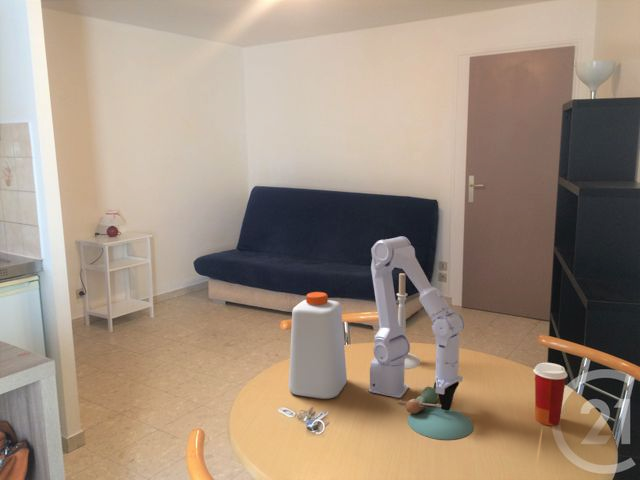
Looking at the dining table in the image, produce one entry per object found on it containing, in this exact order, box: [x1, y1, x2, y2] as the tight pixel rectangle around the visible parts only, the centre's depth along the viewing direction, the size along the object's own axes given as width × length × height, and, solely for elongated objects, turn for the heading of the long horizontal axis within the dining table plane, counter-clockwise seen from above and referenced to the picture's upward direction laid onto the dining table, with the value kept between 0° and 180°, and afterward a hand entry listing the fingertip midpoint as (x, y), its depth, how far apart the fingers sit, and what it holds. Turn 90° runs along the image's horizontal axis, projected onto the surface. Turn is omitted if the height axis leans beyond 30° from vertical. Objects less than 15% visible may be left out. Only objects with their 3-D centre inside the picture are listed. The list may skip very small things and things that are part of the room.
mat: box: [407, 406, 474, 441], centre depth 132 cm, size 16×16×1 cm
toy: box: [397, 385, 442, 414], centre depth 140 cm, size 13×4×15 cm
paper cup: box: [532, 362, 568, 427], centre depth 132 cm, size 8×8×14 cm
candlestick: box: [395, 272, 422, 370], centre depth 168 cm, size 13×13×30 cm
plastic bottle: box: [288, 291, 348, 400], centre depth 151 cm, size 15×15×28 cm
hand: (445, 408), depth 137 cm, fingers closed
